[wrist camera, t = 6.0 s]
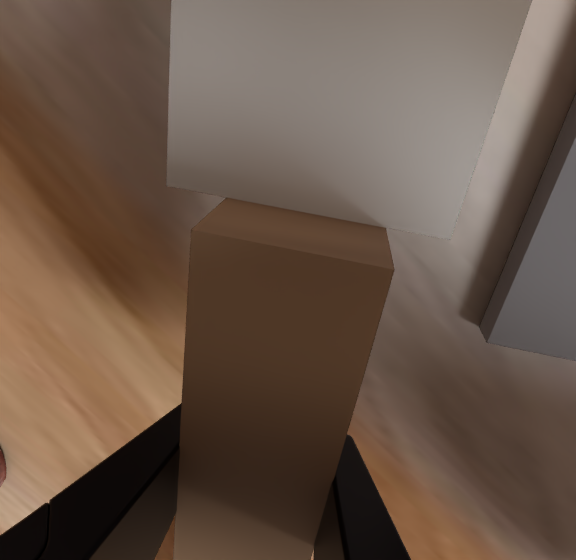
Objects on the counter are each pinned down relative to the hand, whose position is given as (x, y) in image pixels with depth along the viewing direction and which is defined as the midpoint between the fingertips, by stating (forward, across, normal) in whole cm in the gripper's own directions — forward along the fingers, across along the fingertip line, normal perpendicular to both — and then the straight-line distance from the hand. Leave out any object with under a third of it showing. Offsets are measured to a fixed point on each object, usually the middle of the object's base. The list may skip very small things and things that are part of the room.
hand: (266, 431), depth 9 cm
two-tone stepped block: (+1, 0, -4) cm, 4 cm away
